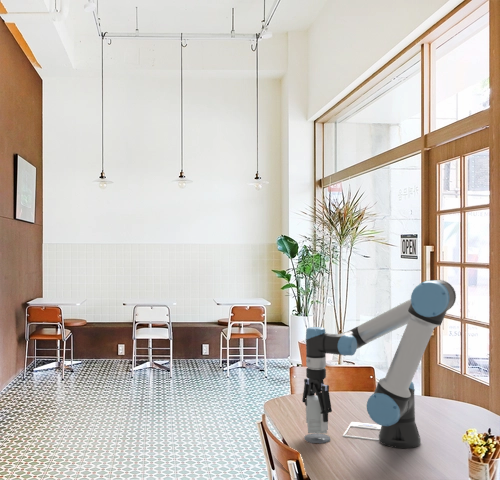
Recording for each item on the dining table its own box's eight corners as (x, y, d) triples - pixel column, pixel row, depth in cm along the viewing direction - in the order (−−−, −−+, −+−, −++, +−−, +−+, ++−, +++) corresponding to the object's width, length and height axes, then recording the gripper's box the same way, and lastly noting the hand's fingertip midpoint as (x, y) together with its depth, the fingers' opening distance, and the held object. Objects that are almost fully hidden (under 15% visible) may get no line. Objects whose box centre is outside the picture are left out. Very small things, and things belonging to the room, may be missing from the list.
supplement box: (326, 427, 200) (325, 394, 200) (327, 434, 192) (326, 400, 193) (307, 427, 200) (306, 394, 201) (307, 433, 193) (307, 399, 194)
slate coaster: (335, 441, 194) (335, 439, 194) (313, 445, 190) (313, 444, 190) (321, 433, 203) (321, 431, 203) (299, 437, 199) (299, 435, 199)
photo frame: (387, 425, 210) (381, 439, 193) (387, 427, 210) (381, 442, 193) (351, 421, 215) (342, 434, 199) (351, 423, 215) (342, 437, 199)
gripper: (293, 363, 206) (293, 419, 205) (324, 374, 186) (324, 436, 185) (308, 361, 209) (309, 416, 208) (341, 372, 189) (342, 433, 188)
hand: (316, 426), depth 196 cm, fingers closed on supplement box, 10 cm apart
